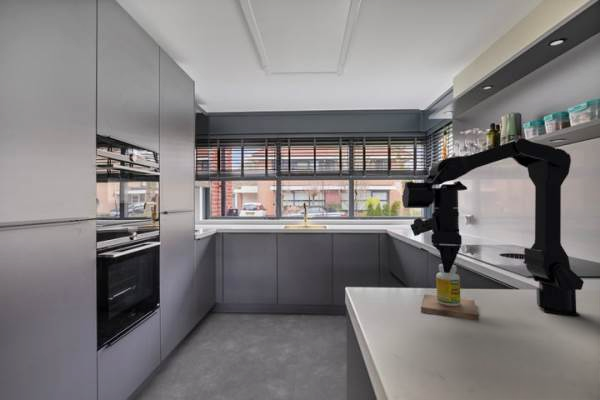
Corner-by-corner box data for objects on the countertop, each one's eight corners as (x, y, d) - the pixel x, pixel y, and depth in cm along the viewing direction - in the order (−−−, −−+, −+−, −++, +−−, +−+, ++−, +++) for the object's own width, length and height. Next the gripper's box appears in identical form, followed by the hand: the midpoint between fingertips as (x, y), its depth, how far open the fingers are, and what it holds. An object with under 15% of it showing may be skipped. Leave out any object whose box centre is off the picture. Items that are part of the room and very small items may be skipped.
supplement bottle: (444, 298, 77) (443, 262, 77) (464, 304, 72) (463, 265, 73) (432, 302, 74) (431, 264, 74) (453, 308, 70) (452, 268, 70)
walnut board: (474, 304, 76) (473, 300, 76) (478, 320, 65) (478, 314, 65) (424, 298, 81) (424, 294, 81) (421, 311, 71) (420, 306, 71)
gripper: (415, 208, 86) (416, 261, 86) (408, 207, 70) (409, 273, 69) (458, 208, 81) (459, 264, 80) (461, 207, 64) (462, 278, 64)
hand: (446, 269), depth 74 cm, fingers open, 9 cm apart
